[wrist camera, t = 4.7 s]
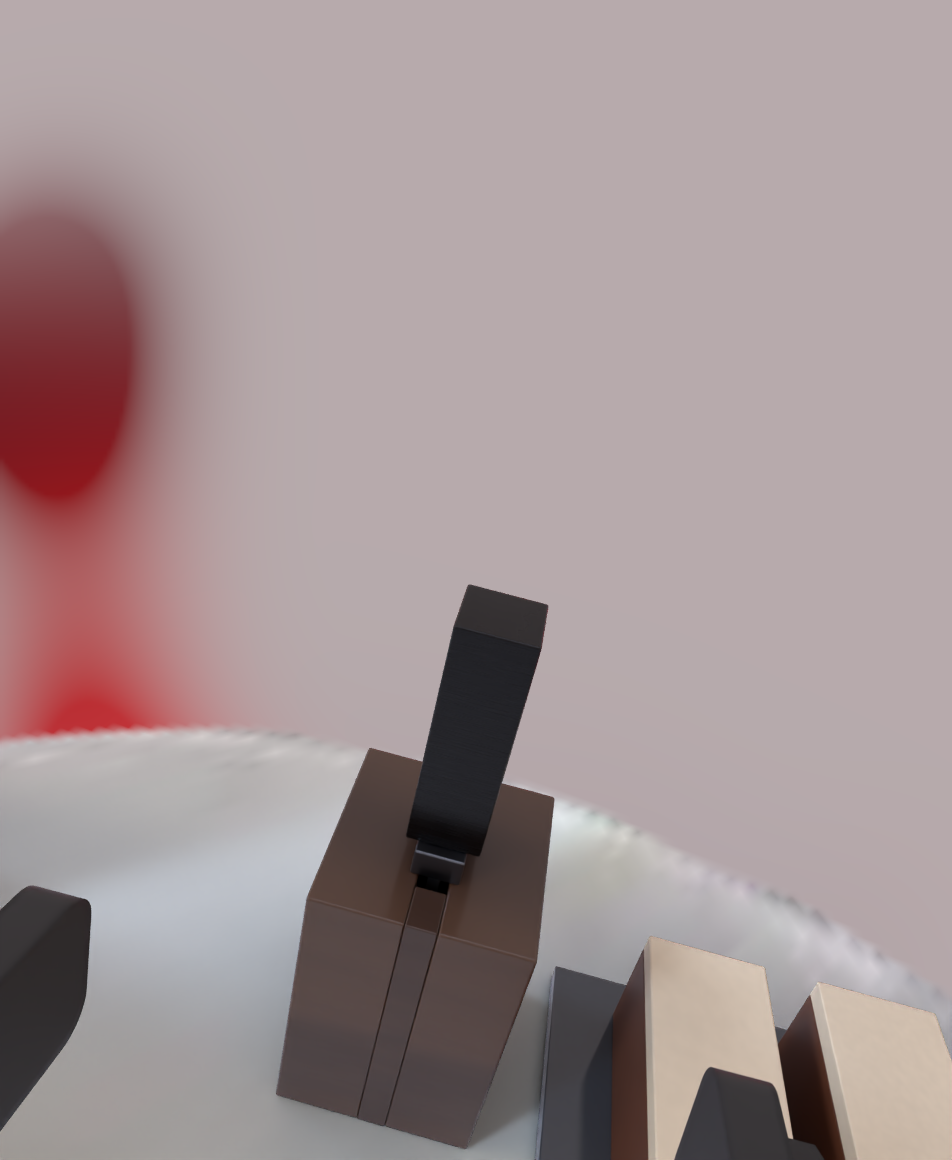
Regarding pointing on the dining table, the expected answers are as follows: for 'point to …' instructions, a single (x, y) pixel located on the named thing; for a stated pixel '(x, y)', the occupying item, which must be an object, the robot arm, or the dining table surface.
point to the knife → (473, 729)
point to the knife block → (413, 961)
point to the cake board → (579, 1068)
